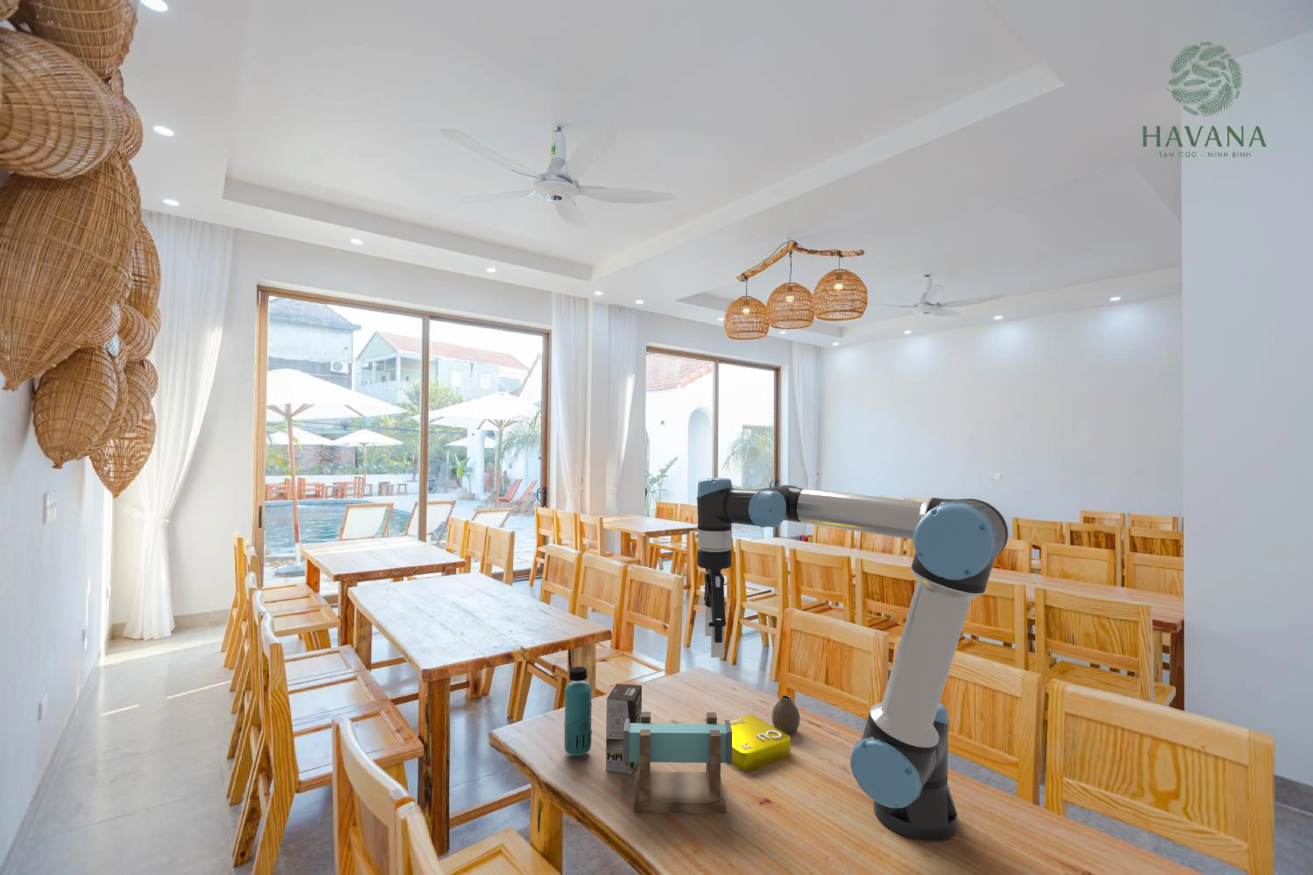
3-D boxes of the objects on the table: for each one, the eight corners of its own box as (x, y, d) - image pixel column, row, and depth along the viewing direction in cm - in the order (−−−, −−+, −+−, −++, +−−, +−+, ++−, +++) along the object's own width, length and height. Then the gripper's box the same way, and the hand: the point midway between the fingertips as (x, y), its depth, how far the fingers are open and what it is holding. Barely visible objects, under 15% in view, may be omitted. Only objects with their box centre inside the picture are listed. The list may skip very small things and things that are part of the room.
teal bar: (729, 751, 127) (729, 719, 127) (732, 764, 121) (732, 731, 121) (624, 750, 127) (624, 718, 127) (623, 763, 122) (623, 730, 122)
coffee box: (633, 774, 132) (633, 700, 132) (604, 771, 133) (605, 698, 133) (642, 753, 141) (643, 684, 141) (615, 750, 142) (616, 682, 142)
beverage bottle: (573, 765, 135) (574, 676, 136) (557, 753, 140) (558, 667, 140) (597, 755, 140) (598, 669, 140) (581, 744, 145) (582, 661, 145)
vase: (803, 729, 153) (803, 695, 153) (794, 741, 147) (794, 705, 147) (777, 722, 157) (777, 689, 157) (767, 733, 151) (767, 698, 151)
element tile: (751, 729, 154) (751, 711, 154) (794, 756, 141) (794, 735, 141) (704, 745, 146) (704, 725, 146) (745, 774, 133) (746, 753, 133)
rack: (719, 781, 130) (720, 711, 130) (725, 813, 119) (726, 736, 119) (636, 780, 130) (636, 710, 130) (634, 812, 119) (634, 735, 119)
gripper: (693, 539, 144) (692, 628, 144) (702, 559, 119) (701, 666, 119) (724, 539, 144) (724, 628, 144) (740, 559, 119) (739, 666, 119)
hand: (714, 645), depth 132 cm, fingers open, 13 cm apart
